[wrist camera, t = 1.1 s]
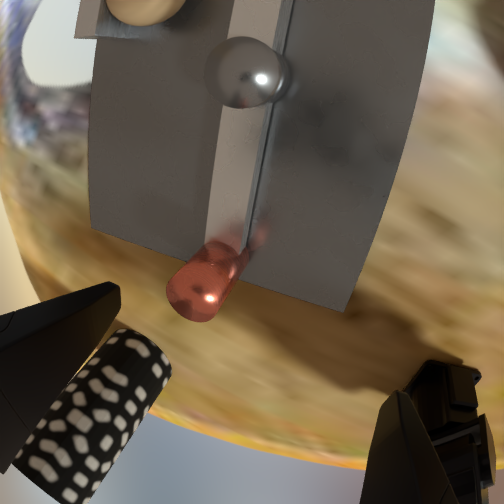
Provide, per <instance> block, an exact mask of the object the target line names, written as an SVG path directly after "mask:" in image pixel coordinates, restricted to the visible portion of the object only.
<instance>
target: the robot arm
mask: <svg viewBox="0 0 504 504" xmlns="http://www.w3.org/2000/svg"><path fill="white" fill-rule="evenodd" d="M120 308H121V293H120V287H119V286H118V285H116V284H114V283H112V282H110V281H108V282H104V283H101V284H98V285H94V286H91V287H88V288H85V289H82V290H78V291H75V292H72V293H69V294H66V295H63V296H60V297H56V298H53V299H50V300H47V301H44V302H41V303H38V304H35V305H32V306H28V307H25V308H22V309H19V310H16V311H13V312H10V313H7V314H3V315H0V473H2V474H4V473H5V472H6V471H7V469H8V467H9V466H10V464H11V463H12V461H13V460H14V458H15V457H16V456H17V454H18V453H19V451H20V450H21V448H22V447H23V445H24V444H25V442H26V441H27V440H28V438H29V437H30V435H31V433H32V432H33V431H34V429H35V428H36V426H37V425H38V424H39V422H40V421H41V419H42V418H43V417H44V415H45V414H46V413H47V411H48V410H49V408H50V407H51V406H52V404H53V403H54V402H55V400H56V399H57V398H58V396H59V395H60V394H61V392H62V391H63V390H64V388H65V387H66V386H67V384H68V383H69V382H70V380H71V379H72V378H73V376H74V375H75V374H76V372H77V371H78V370H79V369H80V367H81V366H82V365H83V363H84V362H85V361H86V360H87V358H88V357H89V356H90V354H91V353H92V352H93V351H94V349H95V348H96V347H97V345H98V344H99V342H100V341H101V339H102V338H103V336H104V334H105V333H106V331H107V330H108V328H109V327H110V325H111V323H112V322H113V320H114V319H115V317H116V316H117V314H118V313H119V311H120ZM430 365H431V366H430ZM481 377H482V376H481V373H480V372H479V371H475V370H470V369H466V368H462V367H458V366H453V365H449V364H445V363H441V362H437V361H433V360H428V361H426V362H425V363H424V364H423V366H422V367H421V368H420V370H419V371H418V372H417V374H416V375H415V376H414V378H413V379H412V380H411V382H410V383H409V384H408V385H407V387H406V388H405V389H404V390H403V392H402V391H398V390H396V391H394V392H393V393H392V394H391V395H390V396H389V397H388V399H387V400H386V401H385V402H384V403H383V404H382V406H381V408H380V410H379V414H378V419H377V423H376V427H375V431H374V435H373V439H372V443H371V446H370V450H369V455H368V461H367V467H366V473H365V479H364V483H363V489H362V494H361V498H360V503H359V504H489V499H488V487H491V486H493V485H495V473H496V454H495V447H494V441H493V436H492V433H491V430H490V427H489V424H488V421H487V418H486V415H485V413H484V414H482V415H480V416H479V417H478V415H477V409H476V408H477V407H478V401H477V396H476V391H475V385H476V384H477V383H478V382H479V380H480V379H481Z"/></svg>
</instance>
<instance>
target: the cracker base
mask: <svg viewBox="0 0 504 504" xmlns="http://www.w3.org/2000/svg"><path fill="white" fill-rule="evenodd" d="M234 1H235V0H186V1H185V2H184V4H183V6H182V7H181V8H180V9H179V11H178V12H176V13H175V14H174V15H173V16H172V17H170V18H169V19H167V20H165V21H163V22H161V23H158V24H155V25H151V26H133V25H129V24H126V23H124V22H122V21H120V20H118V19H117V18H116V17H115V16H114V15H113V14H112V13H111V12H110V10H109V8H108V6H107V3H106V0H81V2H80V7H79V12H78V17H77V23H76V29H75V36H74V38H79V39H97V44H96V51H95V59H94V67H93V77H92V88H91V101H90V119H89V198H90V216H91V228H93V229H96V230H98V231H101V232H104V233H107V234H109V235H112V236H115V237H118V238H120V239H123V240H126V241H129V242H131V243H134V244H137V245H140V246H143V247H145V248H148V249H151V250H154V251H157V252H160V253H162V254H165V255H168V256H171V257H174V258H177V259H180V260H183V261H185V262H187V261H188V260H189V259H190V258H191V257H192V256H193V255H194V254H195V253H196V252H197V251H198V250H199V249H200V248H201V247H202V246H203V245H204V243H205V234H206V225H207V216H208V208H209V200H210V192H211V184H212V177H213V169H214V162H215V155H216V148H217V141H218V134H219V127H220V121H221V114H222V108H223V104H221V103H219V102H218V101H216V100H215V99H214V98H213V97H212V95H211V94H210V93H209V91H208V89H207V87H206V84H205V80H204V67H205V63H206V60H207V58H208V56H209V54H210V53H211V51H212V50H213V49H214V48H215V47H216V46H217V45H218V44H220V43H221V42H223V41H225V40H227V37H228V31H229V26H230V21H231V16H232V11H233V6H234ZM434 5H435V0H293V3H292V8H291V13H290V18H289V23H288V28H287V33H286V38H285V43H284V48H283V53H282V55H283V56H284V58H285V59H286V61H287V63H288V65H289V69H290V82H289V85H288V88H287V90H286V91H285V93H284V94H283V95H282V96H281V97H280V98H279V99H278V100H277V101H275V102H273V105H272V110H271V115H270V120H269V125H268V130H267V136H266V141H265V146H264V151H263V157H262V162H261V167H260V172H259V178H258V183H257V188H256V193H255V199H254V204H253V209H252V215H251V220H250V225H249V231H248V236H247V242H246V247H247V249H248V252H249V262H248V264H247V266H246V268H245V269H244V271H243V273H242V274H241V276H240V277H239V280H242V281H245V282H248V283H251V284H254V285H257V286H260V287H263V288H266V289H269V290H272V291H276V292H279V293H282V294H285V295H288V296H291V297H294V298H297V299H301V300H304V301H307V302H310V303H313V304H317V305H320V306H323V307H326V308H330V309H333V310H336V311H339V312H344V310H345V308H346V306H347V303H348V301H349V299H350V296H351V294H352V292H353V289H354V287H355V285H356V282H357V280H358V277H359V275H360V272H361V270H362V267H363V265H364V262H365V260H366V257H367V255H368V252H369V250H370V247H371V244H372V242H373V239H374V236H375V234H376V231H377V228H378V226H379V223H380V220H381V217H382V214H383V211H384V209H385V206H386V203H387V200H388V197H389V194H390V191H391V188H392V185H393V182H394V178H395V175H396V172H397V169H398V166H399V162H400V159H401V156H402V152H403V149H404V145H405V142H406V138H407V135H408V131H409V127H410V124H411V120H412V116H413V112H414V108H415V104H416V100H417V96H418V92H419V87H420V83H421V78H422V74H423V69H424V64H425V59H426V54H427V49H428V43H429V38H430V32H431V25H432V19H433V12H434Z"/></svg>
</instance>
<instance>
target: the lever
mask: <svg viewBox="0 0 504 504" xmlns="http://www.w3.org/2000/svg"><path fill="white" fill-rule="evenodd" d="M292 3H293V0H235V1H234V6H233V11H232V16H231V21H230V26H229V31H228V37H227V40H225V41H223V42H221V43H220V44H218V45H217V46H216V47H215V48H214V49H213V50H212V51H211V53H210V54H209V56H208V58H207V60H206V63H205V67H204V80H205V84H206V87H207V89H208V91H209V93H210V94H211V95H212V97H213V98H214V99H215V100H216V101H218V102H219V103H221V104H223V108H222V114H221V121H220V127H219V134H218V141H217V148H216V155H215V162H214V169H213V177H212V184H211V192H210V200H209V208H208V216H207V225H206V234H205V243H204V245H203V246H202V247H201V248H200V249H199V250H198V251H197V252H196V253H195V254H194V255H193V256H192V257H191V258H190V259H189V260H188V261H187V263H186V264H185V265H184V266H183V267H182V268H181V269H180V270H179V271H178V272H177V273H176V274H175V275H174V276H173V277H172V278H171V279H170V281H169V282H168V284H167V287H166V293H167V298H168V300H169V302H170V304H171V306H172V307H173V308H174V309H175V311H177V312H178V313H179V314H180V315H181V316H183V317H184V318H186V319H188V320H191V321H195V322H206V321H209V320H211V319H212V318H213V317H214V316H215V315H216V313H217V312H218V310H219V308H220V307H221V305H222V304H223V302H224V301H225V299H226V298H227V296H228V294H229V293H230V291H231V290H232V288H233V287H234V285H235V284H236V282H237V280H238V279H239V277H240V276H241V274H242V273H243V271H244V269H245V268H246V266H247V264H248V262H249V252H248V249H247V247H246V242H247V236H248V231H249V225H250V220H251V215H252V209H253V204H254V199H255V193H256V188H257V183H258V178H259V172H260V167H261V162H262V157H263V151H264V146H265V141H266V136H267V130H268V125H269V120H270V115H271V110H272V105H273V102H275V101H277V100H278V99H279V98H280V97H281V96H282V95H283V94H284V93H285V91H286V90H287V88H288V85H289V82H290V69H289V65H288V63H287V61H286V59H285V58H284V56H283V55H282V53H283V48H284V43H285V38H286V33H287V28H288V23H289V18H290V13H291V8H292Z"/></svg>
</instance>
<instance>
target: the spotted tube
mask: <svg viewBox="0 0 504 504" xmlns="http://www.w3.org/2000/svg"><path fill="white" fill-rule="evenodd" d="M171 374H172V368H171V365H170V363H169V361H168V359H167V357H166V356H165V355H164V353H163V352H162V351H161V350H160V349H159V348H158V347H157V346H156V345H155V344H154V343H153V342H152V341H150V340H149V339H148V338H146V337H145V336H143V335H141V334H139V333H137V332H135V331H132V330H128V329H120V330H117V331H115V332H114V333H113V334H112V335H111V336H110V338H109V339H108V340H107V341H106V342H105V343H104V344H103V345H102V346H101V347H100V349H99V350H98V351H97V352H96V353H95V354H94V355H93V356H92V357H91V359H90V360H89V361H88V362H87V363H86V364H85V365H84V366H83V367H82V369H81V370H80V371H79V372H78V373H77V374H76V375H75V377H74V378H73V379H72V380H71V381H70V382H69V383H68V385H67V386H66V387H65V388H64V390H63V391H62V392H61V394H60V395H59V396H58V398H57V399H56V400H55V402H54V403H53V404H52V406H51V407H50V408H49V410H48V411H47V413H46V414H45V415H44V417H43V418H42V419H41V421H40V422H39V424H38V425H37V426H36V428H35V429H34V431H33V432H32V433H31V435H30V437H29V438H28V440H27V441H26V442H25V444H24V445H23V447H22V448H21V450H20V451H19V453H18V454H17V456H16V457H15V458H14V460H13V461H12V464H13V465H14V466H15V467H16V468H17V469H18V470H19V471H20V472H21V473H23V474H24V475H25V476H26V477H27V478H28V479H30V480H31V481H32V482H33V483H35V484H36V485H37V486H38V487H39V488H41V489H42V490H43V491H44V492H46V493H47V494H48V495H50V496H51V497H52V498H54V499H55V500H56V501H58V502H59V503H61V504H87V503H88V501H89V500H90V499H91V497H92V496H93V494H94V493H95V491H96V490H97V488H98V487H99V485H100V483H101V482H102V480H103V479H104V477H105V476H106V474H107V473H108V471H109V470H110V468H111V467H112V465H113V464H114V462H115V461H116V459H117V457H118V456H119V454H120V453H121V451H122V450H123V449H124V447H125V445H126V444H127V442H128V441H129V439H130V438H131V436H132V435H133V433H134V432H135V430H136V429H137V427H138V426H139V424H140V423H141V421H142V420H143V418H144V417H145V415H146V414H147V412H148V411H149V409H150V407H151V406H152V404H153V403H154V401H155V400H156V398H157V397H158V395H159V394H160V392H161V391H162V389H163V388H164V386H165V385H166V383H167V382H168V380H169V379H170V377H171Z"/></svg>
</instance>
